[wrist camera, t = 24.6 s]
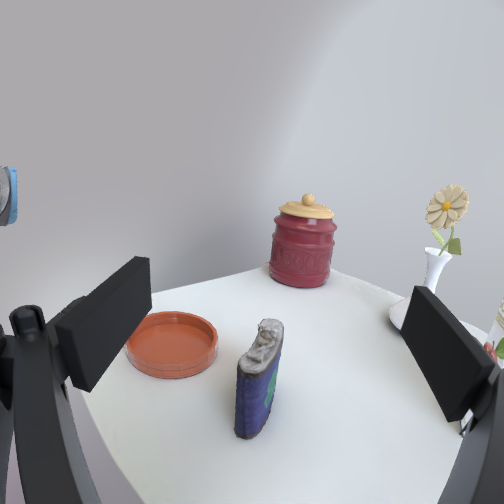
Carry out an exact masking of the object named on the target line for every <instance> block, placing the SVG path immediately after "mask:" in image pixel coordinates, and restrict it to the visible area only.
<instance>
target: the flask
mask: <svg viewBox="0 0 504 504" xmlns="http://www.w3.org/2000/svg"><path fill="white" fill-rule="evenodd" d="M258 327H259V328H258V335H257V336H256V339H255V341H254V343H253V344H252V347H251V348H250V349H249V350H248V352H246V353H245V354H244V355H243V356H242V357H241V358H240V359H239V361H238V367H237V384H236V387H237V389H236V406H235V409H236V412H235V427H234V431H235V434H236V435H237V437H240V438H243V439H252V438H254V437H255V436H256V435H257V434H258V433H259V432H260V431H261V430H262V427H263V426H264V425H265V423H266V421H267V419H268V416H269V414H270V409H271V404H272V401H273V397H274V392H275V384H276V377H277V372H278V366H279V360H280V356H281V348H282V343H283V333H284V327H283V324H282V322H280V321H279V320H277V319H263V320H262V321H261V323H260V324H258Z"/></svg>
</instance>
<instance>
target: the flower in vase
mask: <svg viewBox="0 0 504 504" xmlns="http://www.w3.org/2000/svg"><path fill="white" fill-rule="evenodd" d="M467 195H468V193H467V192H466V190H464V191H463V187H462V186H461V187H460V185H459V184H458V185H456V186H454V187H452V185H451V184H449V185H448V187H447V189H446V188H442V189H441V192H435V194H434V196H435V198H432V199H431V200H430V202H431V203H430V204H429V206H428V207H427V209H426V210H427V211H428V214H427V215H426V220H427V223H429V224H432V225H431V228H432V229H433V234H434V236H435V237H436V239H437V240H438V241H439V242H440V243H441V244H442V245H443V246H444V247H443V249H442V250H440V249H436V248H429V247H427V248H425V253H426V255H427V272H426V277H425V281H424V284H423V286H425V287H428V288H429V289H430V290H431V291H432V293H433V294H434V293H435V287H436V284H437V281H438V278H439V275H440V273H441V271H442V269H443V267H444V265H445V264H446V263H447V262H448V260H450V259H451V258H452V255H451V254H458V255H461V247H460V239H459V238H455V239H452V237H453V232H454V227H453V226H454V225H455V223H456V221H459V220H460V219H461V216H462V215H463V214H465V213H466V212H467V208H466V207H467V206H468V205H469V203H468V201H469V199H470V196H467ZM442 227H444V229H447V228H449V227H451V228H452V232H451V237H450V239H449V241H448V242H447V243H446V245H445V243H444V240H443V239H442V237H441V236H440V235H439V234H438V233H437V231H436V229H437V230H439V229H441V228H442ZM435 228H436V229H435ZM448 244H449V246H448V252H449V253H451V254H449V253H447V252H445V251H444V249H445V248H446V247H447V245H448ZM410 300H411V297H408V298H406V299H403V300H401V301H399V302H397V303H395V304H394V305H393V306H392V307H391V309H390V310H389V316H390V319H391V321H392V323H393V324H394V325H395V326H396V327H397V328H398V329H400V330H401V327H402V324H403V321H404V318H405V315H406V312H407V309H408V306H409V303H410Z"/></svg>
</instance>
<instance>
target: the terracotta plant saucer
mask: <svg viewBox="0 0 504 504" xmlns="http://www.w3.org/2000/svg"><path fill="white" fill-rule="evenodd" d="M125 347H126V352H127V355H128V358H129V360H130V362H131V363H132V364H133V365H134V366H135V367H136V368H137V369H138V370H140V371H141V372H143V373H145V374H148V375H150V376H154V377H158V378H165V379H178V378H185V377H189V376H192V375H195V374H198V373H200V372H202V371H203V370H205V369H206V368H208V367H209V366H210V365H211V364H212V363H213V361H214V360H215V358H216V355H217V350H218V336H217V331H216V329H215V328H214V327H213V326H212V324H211V323H210V322H208V321H207V320H205V319H203V318H202V317H199V316H196V315H193V314H190V313H184V312H177V311H170V312H158V313H152V314H149V315H147V316H145V318H144V319H143V320H142V322H141V323H140V324H139V326H138V327H137V328H136V330H135V331H134V332H133V334H132V335H131V336H130V338H129V339H128V340H127V342H126V343H125Z"/></svg>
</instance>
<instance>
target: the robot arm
mask: <svg viewBox="0 0 504 504" xmlns="http://www.w3.org/2000/svg"><path fill="white" fill-rule="evenodd" d="M16 219H17V175H16V169H15V168H14V167H4V168H2V167H1V166H0V226H7V225H8V224H12V223H14V222H15V221H16ZM151 308H152V300H151V284H150V264H149V258H146V257H138V256H135V257H134V258H133V259H131V260H130V261H129V262H127V263H126V264H125V265H124V266H122V267H121V268H120V269H119V270H118V271H116V272H115V273H114V274H113V275H111V276H110V277H109V278H108V279H107V280H105V281H104V282H103V283H102V284H100V285H99V286H98V287H97V288H96V289H94V290H93V291H92V292H91V293H90V294H89V295H87V296H82V297H81V298H78V299H76V300H74V301H72V302H71V303H70V304H69V305H68V306H67V307H66V308H64V309H63V310H62V311H61V313H58V314H57V315H56V316H55V317H54V318H52V319H51V320H50V321H49V322H48V323H47V324H46V323H45V320H44V316H43V312H42V309H41V308H40V307H39V306H36V305H25V306H21V307H19V308H17V309H15V310H14V311H12V312H11V314H10V316H9V319H10V322H11V326H12V329H13V332H14V335H15V336H12V335H5V334H4V331H3V328H2V325H1V324H0V504H5V495H6V481H7V470H8V462H9V454H10V447H11V441H12V435H13V430H14V433H15V444H16V452H17V460H18V467H19V473H20V479H21V485H22V489H23V494H24V499H25V503H26V504H102V503H101V500H100V498H99V496H98V493H97V491H96V488H95V486H94V483H93V480H92V478H91V475H90V472H89V469H88V466H87V463H86V460H85V457H84V454H83V451H82V448H81V445H80V441H79V438H78V435H77V431H76V427H75V423H74V419H73V415H72V410H71V406H70V402H69V397H68V392H67V387H66V385H65V382H64V381H65V380H66V379H67V377H68V376H70V378H71V381H72V384H73V386H74V387H76V388H78V389H81V390H84V391H86V392H89V393H90V392H91V391H92V389H93V388H94V386H95V385H96V384H97V382H98V381H99V379H100V378H101V377H102V375H103V374H104V372H105V371H106V369H107V368H108V367H109V365H110V364H111V362H112V361H113V360H114V358H115V357H116V356H117V354H118V353H119V351H120V350H121V349H122V347H123V346H124V345H125V343H126V342H127V340H128V339H129V338H130V336H131V335H132V334H133V332H134V331H135V330H136V328H137V327H138V326H139V324H140V323H141V322H142V320H143V319H144V318H145V316H146V315H147V314H148V312H149V311H150V310H151ZM400 334H401V335H402V337H403V339H404V341H405V342H406V344H407V346H408V348H409V349H410V351H411V353H412V355H413V356H414V358H415V360H416V362H417V364H418V365H419V367H420V369H421V371H422V373H423V374H424V376H425V378H426V380H427V382H428V384H429V386H430V388H431V390H432V391H433V393H434V395H435V397H436V399H437V401H438V403H439V405H440V407H441V409H442V411H443V413H444V415H445V417H446V419H447V421H448V422H453V421H458V420H462V419H463V418H464V416H465V415H466V413H467V412H468V410H469V409H470V410H471V411H472V413H473V415H472V417H471V418H470V419H469V421H468V422H467V424H466V425H465V426H464V428H463V429H462V430H461V432H460V435H462V433H463V432H464V431H465V435H464V438H463V441H462V444H461V447H460V450H459V453H458V456H457V458H456V461H455V464H454V466H453V469H452V471H451V474H450V476H449V479H448V481H447V483H446V486H445V488H444V490H443V492H442V495H441V497H440V499H439V501H438V503H437V504H504V368H503V369H501V368H500V366H499V365H498V364H497V363H496V361H495V360H494V359H493V358H492V356H491V355H490V354H489V353H487V350H486V349H485V348H484V347H483V346H482V344H481V343H480V342H479V341H478V340H477V339H476V338H475V337H473V336H472V335H471V334H470V333H469V332H468V331H467V330H466V328H465V327H464V326H463V325H462V324H461V323H460V322H459V321H458V319H457V318H456V317H455V316H454V315H453V314H452V313H451V312H450V311H449V310H448V309H447V307H446V306H445V305H444V304H443V303H442V302H441V301H440V300H439V299H438V298H437V297H436V296H435V295H434V294H433V293H432V291H431V290H430V289H429V288H428V287H425V286H414V290H413V293H412V296H411V300H410V303H409V306H408V309H407V312H406V315H405V318H404V321H403V324H402V327H401V330H400Z"/></svg>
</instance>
